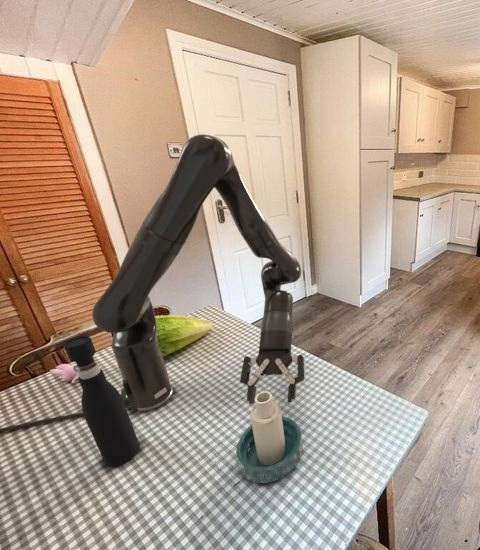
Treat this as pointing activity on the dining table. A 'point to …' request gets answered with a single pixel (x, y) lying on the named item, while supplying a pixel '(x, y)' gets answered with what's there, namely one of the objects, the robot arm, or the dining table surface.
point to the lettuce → (179, 331)
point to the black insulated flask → (102, 406)
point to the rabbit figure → (66, 372)
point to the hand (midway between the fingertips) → (271, 403)
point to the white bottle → (268, 429)
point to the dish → (276, 471)
